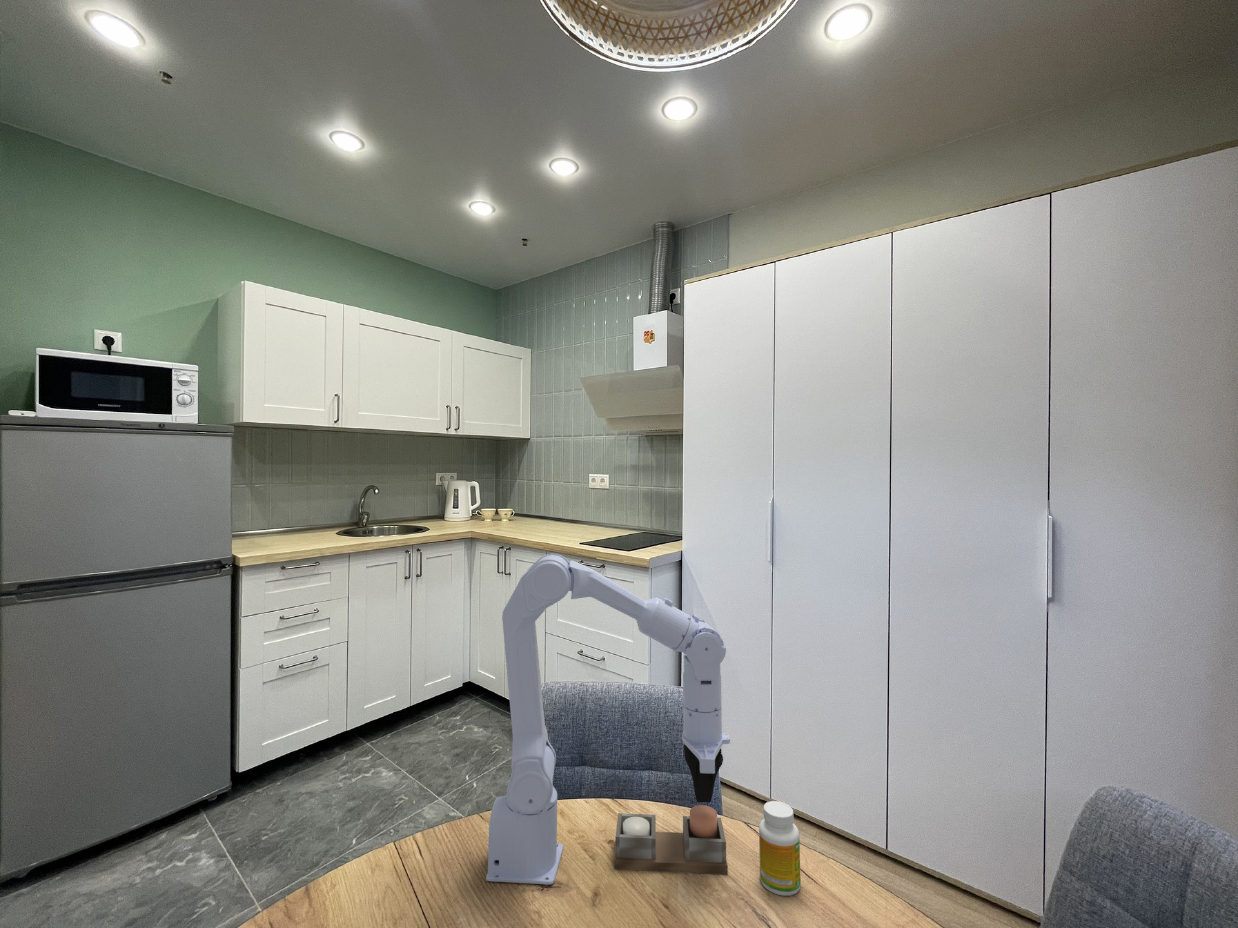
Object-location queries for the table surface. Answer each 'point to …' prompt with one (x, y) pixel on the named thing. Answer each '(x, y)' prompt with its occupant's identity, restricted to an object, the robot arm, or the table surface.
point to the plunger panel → (670, 849)
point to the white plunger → (636, 826)
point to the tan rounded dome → (703, 821)
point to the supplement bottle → (779, 850)
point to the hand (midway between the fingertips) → (703, 799)
